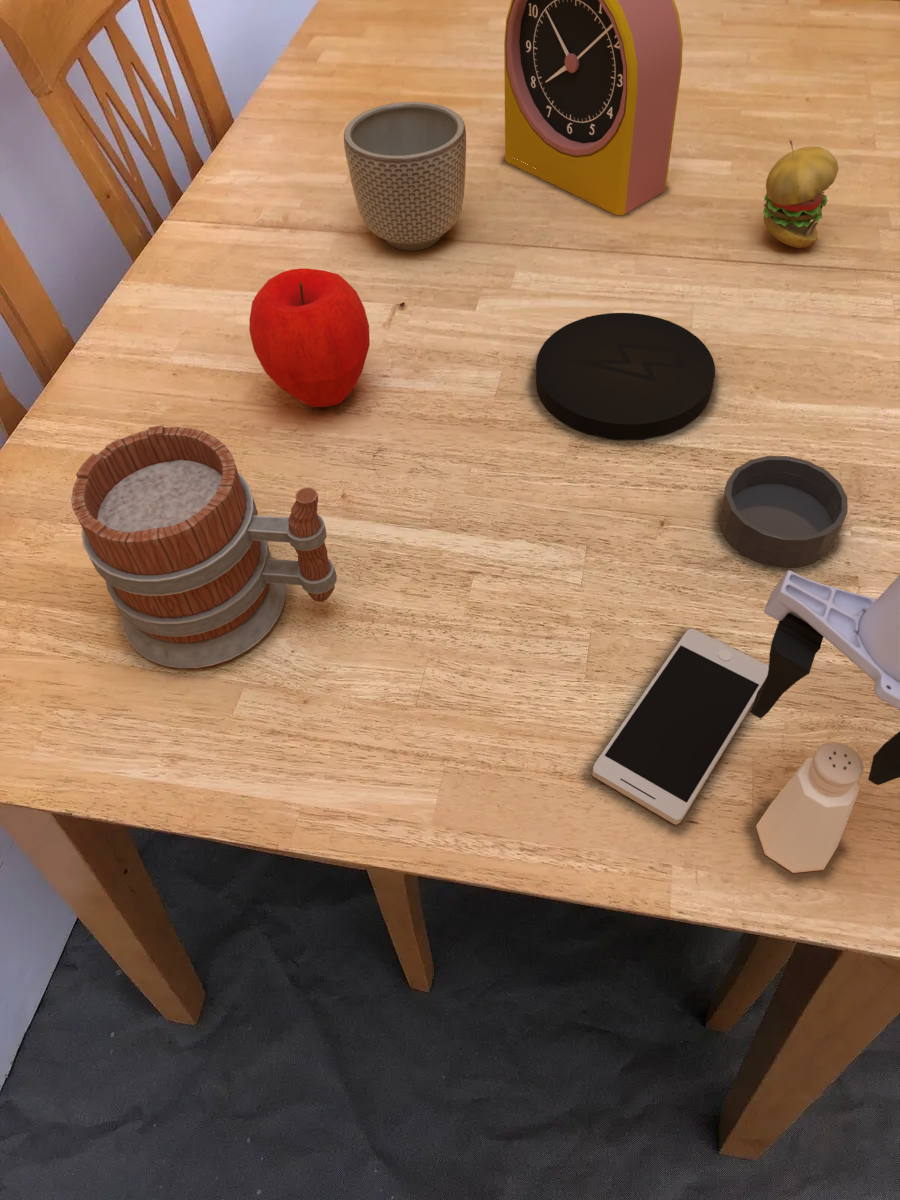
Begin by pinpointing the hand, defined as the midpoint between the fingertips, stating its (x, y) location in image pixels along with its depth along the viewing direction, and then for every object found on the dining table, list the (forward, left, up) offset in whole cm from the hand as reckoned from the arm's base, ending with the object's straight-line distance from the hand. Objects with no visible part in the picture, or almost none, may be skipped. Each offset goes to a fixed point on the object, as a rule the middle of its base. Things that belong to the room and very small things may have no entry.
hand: (817, 737), depth 55 cm
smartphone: (+7, -6, -12) cm, 15 cm away
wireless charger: (+17, -46, -12) cm, 50 cm away
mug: (+45, -10, -12) cm, 47 cm away
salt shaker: (-1, +1, -12) cm, 12 cm away
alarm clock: (+28, -87, -12) cm, 92 cm away
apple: (+47, -38, -12) cm, 61 cm away
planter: (+46, -69, -12) cm, 83 cm away
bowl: (+1, -29, -12) cm, 31 cm away
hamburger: (+2, -75, -12) cm, 75 cm away
